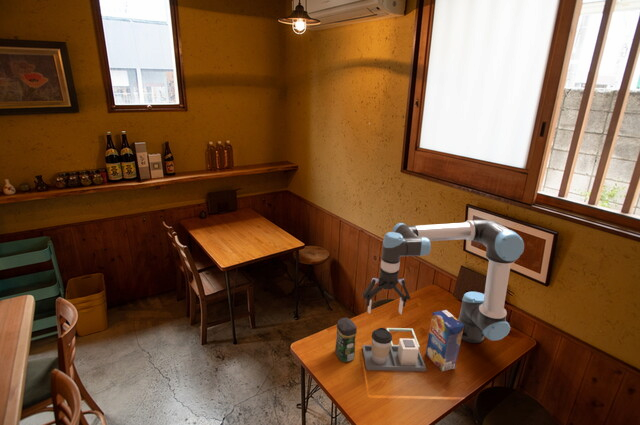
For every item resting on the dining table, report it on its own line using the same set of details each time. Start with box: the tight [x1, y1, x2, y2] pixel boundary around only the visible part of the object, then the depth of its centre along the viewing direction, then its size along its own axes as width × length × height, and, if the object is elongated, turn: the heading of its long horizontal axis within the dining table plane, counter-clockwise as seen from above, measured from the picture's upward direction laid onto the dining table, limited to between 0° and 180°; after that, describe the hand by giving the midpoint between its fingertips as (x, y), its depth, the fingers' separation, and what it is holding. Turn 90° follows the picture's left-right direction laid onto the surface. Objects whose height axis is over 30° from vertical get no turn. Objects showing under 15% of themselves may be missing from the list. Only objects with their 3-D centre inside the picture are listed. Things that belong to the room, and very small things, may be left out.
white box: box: [397, 337, 420, 366], centre depth 161 cm, size 7×7×9 cm
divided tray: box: [362, 344, 427, 372], centre depth 162 cm, size 26×14×3 cm, turn 91°
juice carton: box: [425, 309, 464, 372], centre depth 159 cm, size 12×8×24 cm, turn 20°
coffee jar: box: [334, 317, 358, 363], centre depth 162 cm, size 10×8×19 cm
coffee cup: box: [371, 327, 393, 365], centre depth 159 cm, size 9×9×15 cm
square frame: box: [385, 327, 421, 349], centre depth 176 cm, size 14×14×2 cm
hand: (384, 311), depth 153 cm, fingers open, 13 cm apart
